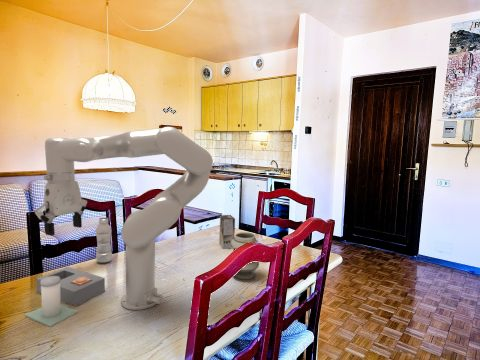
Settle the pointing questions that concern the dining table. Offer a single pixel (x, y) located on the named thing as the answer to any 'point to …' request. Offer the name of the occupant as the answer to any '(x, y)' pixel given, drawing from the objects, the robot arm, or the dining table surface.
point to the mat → (51, 321)
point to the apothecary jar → (246, 272)
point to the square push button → (81, 281)
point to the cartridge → (50, 296)
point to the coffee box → (226, 231)
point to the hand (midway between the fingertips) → (64, 230)
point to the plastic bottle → (103, 241)
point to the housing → (74, 292)
